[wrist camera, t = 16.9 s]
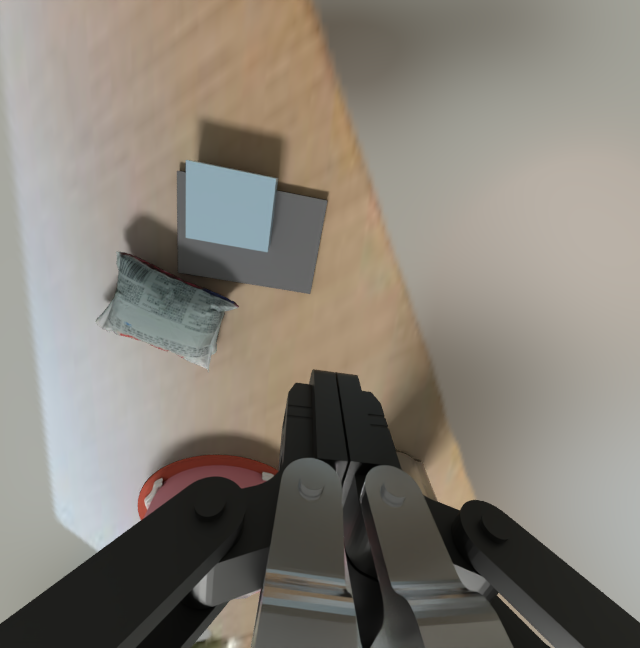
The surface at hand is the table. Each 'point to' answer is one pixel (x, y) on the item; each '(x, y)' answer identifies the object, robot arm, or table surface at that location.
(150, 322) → the packaged food
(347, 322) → the table surface
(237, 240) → the block
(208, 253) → the mat
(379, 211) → the table surface
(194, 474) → the cake
